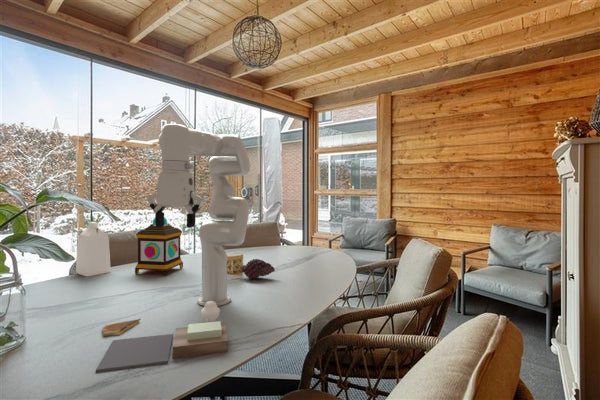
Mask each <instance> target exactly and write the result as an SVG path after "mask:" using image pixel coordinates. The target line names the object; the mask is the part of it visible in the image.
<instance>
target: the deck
mask: <svg viewBox="0 0 600 400" xmlns="http://www.w3.org/2000/svg"><path fill="white" fill-rule="evenodd" d="M226 328H227V327H226V323H221V329H222V337H213V338H204V339H195V340H187V333H188V326H185V327H176V328H175V333H174V336H173V342H172V359H178V358H177V357H181V358H187V357H186V356H189V357H196V355H197V356H204V355H212V354H219V353H228V352H229V351H228V350H229V339H228V335H227V329H226Z"/></svg>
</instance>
